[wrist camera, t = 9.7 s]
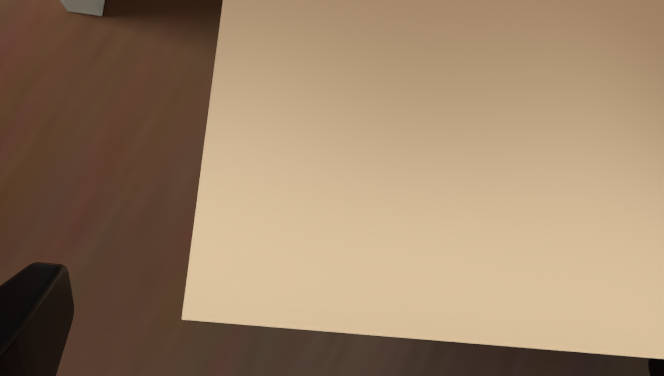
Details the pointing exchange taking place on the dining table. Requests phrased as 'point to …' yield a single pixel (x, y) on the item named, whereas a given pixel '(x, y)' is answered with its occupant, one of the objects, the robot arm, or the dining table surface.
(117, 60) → the dining table surface
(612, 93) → the maple block
